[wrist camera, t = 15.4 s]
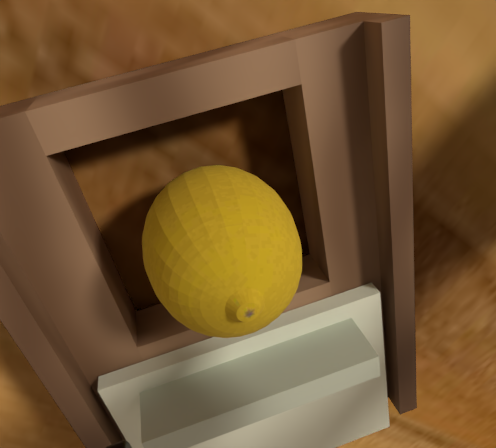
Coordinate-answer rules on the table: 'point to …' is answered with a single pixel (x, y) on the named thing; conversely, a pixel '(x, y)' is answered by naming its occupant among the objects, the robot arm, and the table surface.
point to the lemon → (221, 251)
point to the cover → (263, 383)
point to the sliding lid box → (309, 182)
